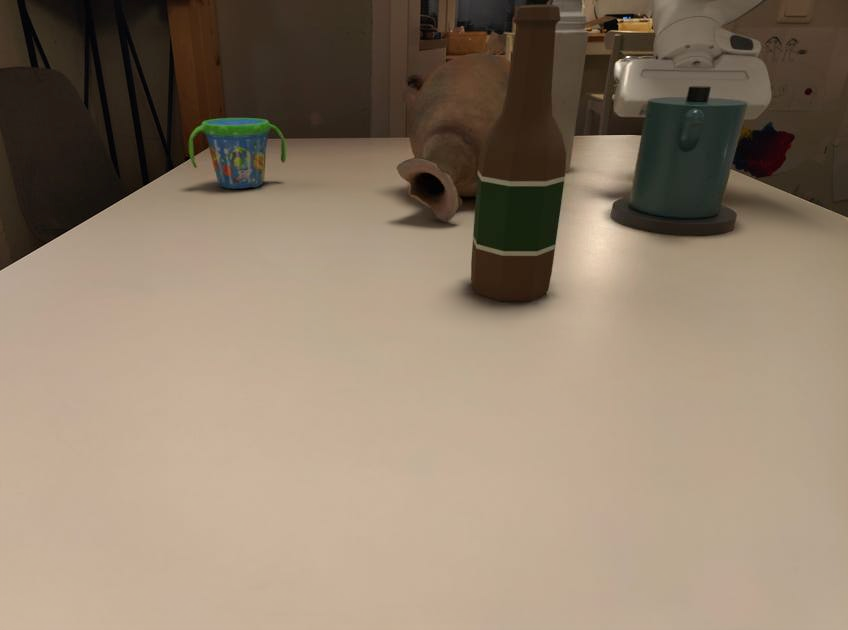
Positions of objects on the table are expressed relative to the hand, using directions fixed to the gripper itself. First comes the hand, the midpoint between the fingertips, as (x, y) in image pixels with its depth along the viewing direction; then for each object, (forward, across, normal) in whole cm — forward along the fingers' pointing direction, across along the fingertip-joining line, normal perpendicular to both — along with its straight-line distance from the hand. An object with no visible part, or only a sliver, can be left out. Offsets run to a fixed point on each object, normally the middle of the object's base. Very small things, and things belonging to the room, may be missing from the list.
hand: (692, 139), depth 85 cm
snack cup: (+3, -67, +12) cm, 68 cm away
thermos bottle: (-11, -15, +24) cm, 31 cm away
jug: (+8, -32, +6) cm, 33 cm away
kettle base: (+13, -4, 0) cm, 13 cm away
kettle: (+12, -4, -2) cm, 12 cm away
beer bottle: (+32, -27, -20) cm, 47 cm away
